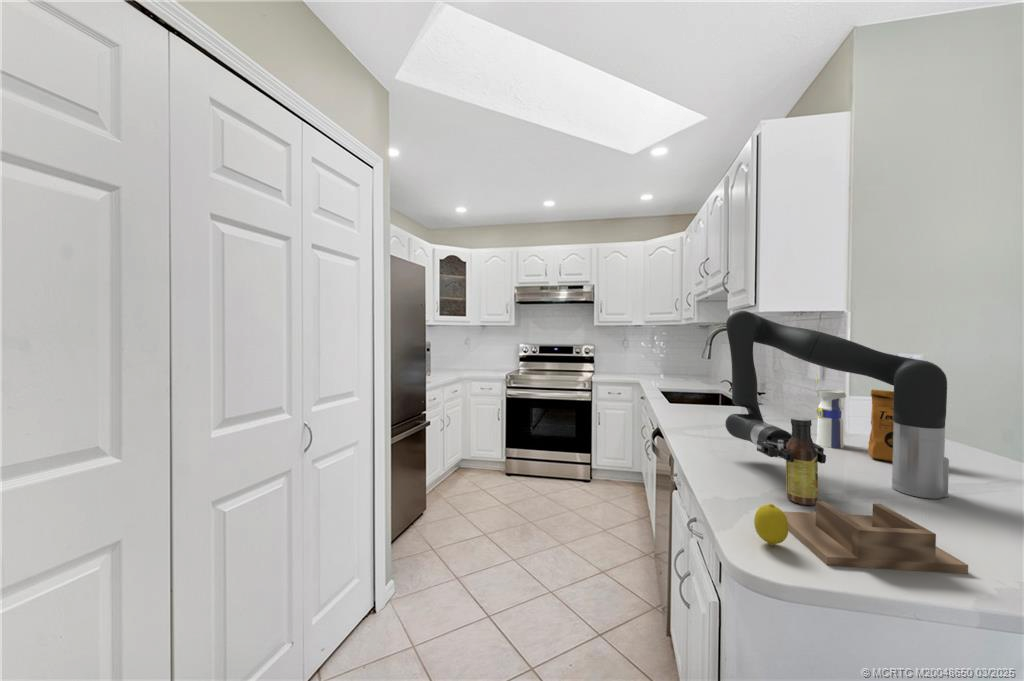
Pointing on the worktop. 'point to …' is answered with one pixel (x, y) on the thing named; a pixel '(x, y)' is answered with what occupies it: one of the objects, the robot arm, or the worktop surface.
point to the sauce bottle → (802, 464)
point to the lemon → (771, 524)
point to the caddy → (870, 540)
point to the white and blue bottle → (830, 418)
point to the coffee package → (882, 425)
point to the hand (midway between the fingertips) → (807, 458)
